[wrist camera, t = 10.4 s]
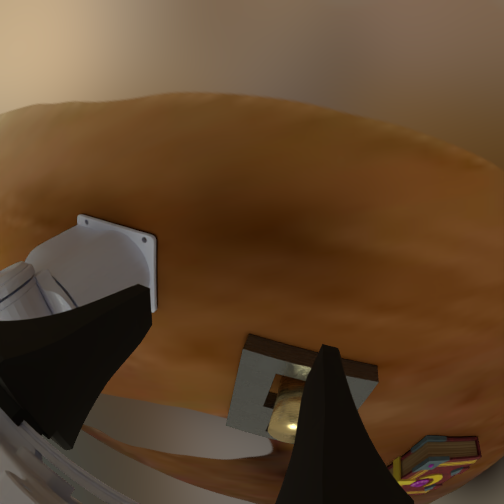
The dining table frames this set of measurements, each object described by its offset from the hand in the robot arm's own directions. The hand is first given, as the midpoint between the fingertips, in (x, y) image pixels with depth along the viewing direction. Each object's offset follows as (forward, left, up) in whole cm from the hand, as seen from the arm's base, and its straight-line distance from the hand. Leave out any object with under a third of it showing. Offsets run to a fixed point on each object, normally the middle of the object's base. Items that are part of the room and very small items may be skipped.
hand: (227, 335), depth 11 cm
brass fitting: (+6, -14, -10) cm, 18 cm away
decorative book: (+31, -28, -11) cm, 43 cm away
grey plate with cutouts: (+6, -16, -10) cm, 20 cm away
